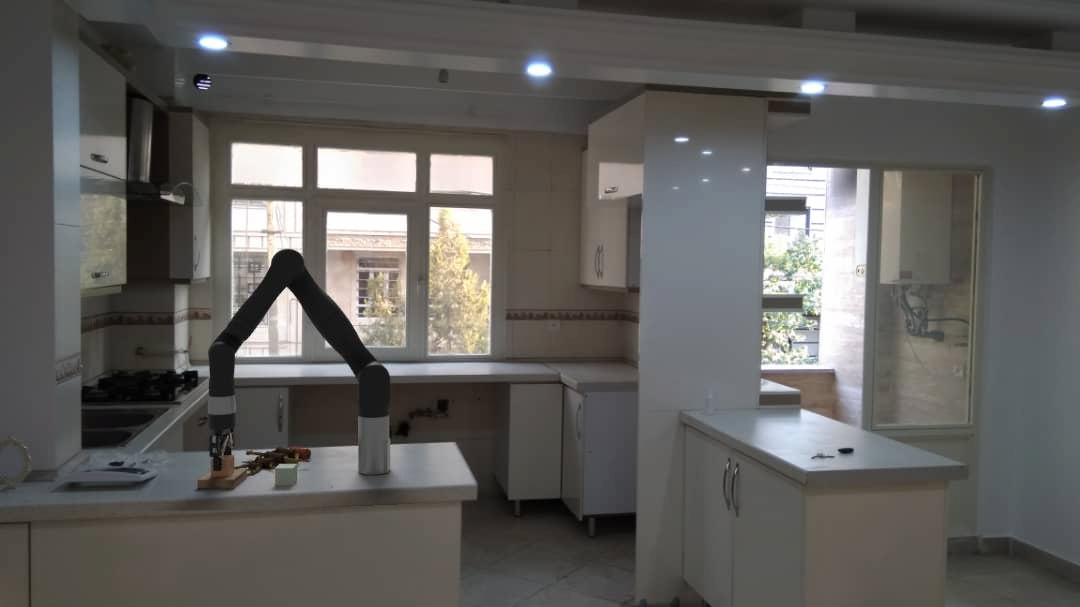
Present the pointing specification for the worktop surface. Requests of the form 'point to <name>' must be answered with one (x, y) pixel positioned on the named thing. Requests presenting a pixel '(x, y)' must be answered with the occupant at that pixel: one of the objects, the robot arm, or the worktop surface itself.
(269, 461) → the toy
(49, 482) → the worktop surface
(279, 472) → the sage block
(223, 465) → the terracotta block
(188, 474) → the worktop surface
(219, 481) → the base board
